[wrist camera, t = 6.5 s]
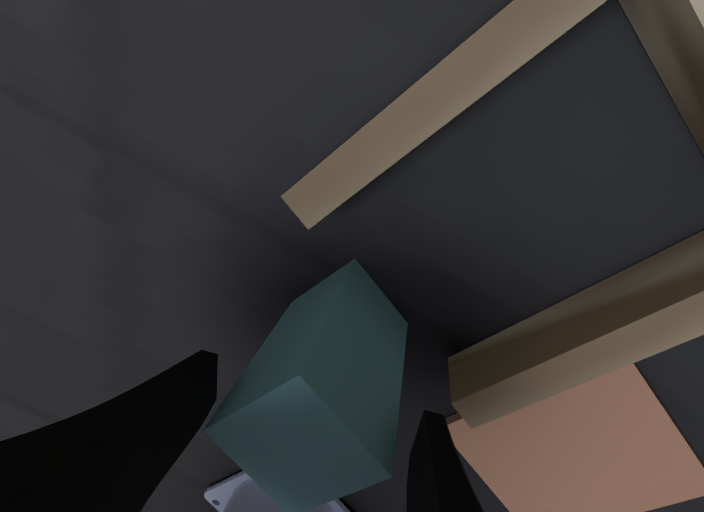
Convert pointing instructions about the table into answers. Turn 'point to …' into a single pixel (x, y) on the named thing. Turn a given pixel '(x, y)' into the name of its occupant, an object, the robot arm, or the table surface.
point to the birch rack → (590, 304)
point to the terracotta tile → (585, 451)
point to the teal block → (320, 396)
